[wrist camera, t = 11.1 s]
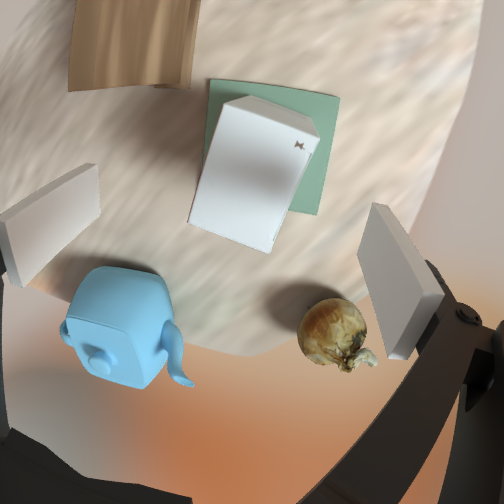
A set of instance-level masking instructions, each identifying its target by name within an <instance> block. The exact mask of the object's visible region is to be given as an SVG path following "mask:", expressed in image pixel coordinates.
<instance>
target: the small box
mask: <svg viewBox="0 0 504 504" xmlns="http://www.w3.org/2000/svg"><path fill="white" fill-rule="evenodd" d="M319 141H320V137H319V135H318V133H317V130H316V128H315V126H314V123H313V121H312V119H311V117H309V116H306V115H303V114H301V113H299V112H296V111H294V110H291V109H289V108H286V107H283V106H281V105H278V104H275V103H272V102H270V101H267V100H264V99H261V98H259V97H256V96H253V95H249V96H245V97H242V98H239V99H236V100H232V101H229V102H226V103H224V104H223V105H222V108H221V111H220V114H219V117H218V120H217V123H216V126H215V130H214V133H213V136H212V139H211V142H210V145H209V148H208V152H207V155H206V158H205V162H204V165H203V168H202V171H201V175H200V178H199V182H198V185H197V189H196V192H195V196H194V199H193V202H192V206H191V210H190V214H189V217H188V220H187V223H189V224H191V225H194V226H197V227H199V228H202V229H204V230H207V231H209V232H212V233H215V234H217V235H220V236H222V237H225V238H228V239H230V240H233V241H235V242H238V243H240V244H243V245H246V246H248V247H251V248H253V249H256V250H258V251H261V252H263V253H266V254H269V253H270V252H271V249H272V246H273V244H274V241H275V238H276V236H277V233H278V231H279V229H280V226H281V224H282V222H283V219H284V217H285V215H286V213H287V210H288V208H289V206H290V203H291V201H292V199H293V197H294V194H295V192H296V190H297V188H298V185H299V183H300V181H301V179H302V176H303V174H304V172H305V169H306V167H307V165H308V163H309V161H310V159H311V157H312V155H313V153H314V151H315V149H316V147H317V145H318V143H319Z"/></svg>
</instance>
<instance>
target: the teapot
mask: <svg viewBox="0 0 504 504" xmlns="http://www.w3.org/2000/svg"><path fill="white" fill-rule="evenodd" d="M68 332H69V335H68ZM60 335H61V338H62V339H63V341H64V342H65V343H66V344H68V345H69V346H73V347H74V349H75V351H76V353H77V355H78V357H79V358H80V360H81V362H82V364H83V365H84V367H85V368H86V370H87V371H88V372H89V373H90V374H93V375H95V376H98V377H101V378H103V379H106V380H109V381H112V382H115V383H119V384H122V385H126V386H130V387H134V388H138V389H144V388H145V387H146V386H147V385H148V384H149V383H150V382H151V381H152V380H153V379H154V377H155V376H156V375H157V374H158V373H159V372H160V370H161V369H162V367H163V366H164V364H165V363H166V361H167V359H168V363H167V369H168V373H169V375H170V376H171V377H172V379H173V380H175V381H176V382H178V383H180V384H182V385H185V386H189V387H194V383H192V381H191V380H189V379H188V378H187V377H186V376H185V374H184V373H183V371H182V366H181V362H182V356H183V346H184V345H183V337H182V335H181V332H180V330H179V329H178V328H177V326H176V325H175V324H174V313H173V307H172V303H171V299H170V295H169V291H168V288H167V285H166V283H165V281H164V280H163V279H162V278H161V277H160V276H158V275H155V274H151V273H147V272H142V271H137V270H132V269H126V268H119V267H111V266H101V267H98V268H95V269H93V270H92V271H90V272H89V273H88V274H87V276H86V277H85V278H84V279H83V281H82V282H81V284H80V285H79V287H78V289H77V291H76V293H75V295H74V297H73V299H72V302H71V304H70V307H69V309H68V312H67V315H66V320H64V321H63V323H62V324H61V326H60Z"/></svg>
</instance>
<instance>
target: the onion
mask: <svg viewBox="0 0 504 504" xmlns="http://www.w3.org/2000/svg"><path fill="white" fill-rule="evenodd" d="M308 308H309V307H308ZM309 309H310V308H309ZM366 334H367V328H366V323H365V321H364V319H363V316H362V314H361V312H360V311H359V309H358V308H357V307H356V306H355V305H354V304H353V303H352V302H350V301H348V300H344V299H339V298H330V299H326V300H322V301H320V302H318V303H317V304H316V305H314V306H313V307H312V308H311V309H310V310H309V311H308V312H307V313H306V314H305V315H304V317H303V318H302V320H301V322H300V324H299V327H298V330H297V337H298V343H299V346H300V348H301V350H302V352H303V353H304V355H305V356H306V357H307V358H308V359H310V360H311V361H313V362H314V363H316V364H319V365H328V364H333V363H336V364H338V368H340V371H344V372H347V373H350V372H351V370H352V368H353V367H354V368H355V369H356V370H357V367H358V365H359V364H360V362H361V361H363V362H365V363H367V364H368V365H369V366H370V367H372V366H373V365H374V366H376V365H377V363H378V358H377V357H376V356H375V355H374V354H373V353H372V351H371V350H369V349H368V348H363V349H360V347H361V346H362V344H363V343H364V340H365V337H366Z"/></svg>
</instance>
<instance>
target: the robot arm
mask: <svg viewBox="0 0 504 504" xmlns="http://www.w3.org/2000/svg"><path fill="white" fill-rule="evenodd" d="M100 215H101V209H100V196H99V181H98V164H89V163H85V164H83V165H81V166H80V167H78V168H76V169H74V170H72V171H70V172H68V173H67V174H65V175H63V176H61V177H60V178H58V179H56V180H54V181H53V182H51V183H49V184H47V185H46V186H44V187H42V188H41V189H39V190H37V191H36V192H34V193H33V194H31V195H29V196H28V197H26V198H25V199H23V200H21V201H20V202H18V203H17V204H15V205H14V206H12V207H11V208H9V209H8V210H6V211H5V212H3V213H2V214H0V504H193V502H192V498H190V497H186V496H181V495H177V494H173V493H169V492H165V491H161V490H158V489H154V488H151V487H147V486H144V485H140V484H132V483H122V482H114V481H105V480H99V479H92V478H87V477H84V476H82V475H81V474H79V473H78V472H77V471H75V470H74V469H73V468H71V467H70V466H69V465H68V464H66V463H65V462H64V461H63V460H62V459H60V458H59V457H58V456H57V455H55V454H54V453H53V452H52V451H51V450H50V449H48V448H47V447H46V446H44V445H43V444H41V443H39V442H37V441H35V440H33V439H31V438H29V437H28V436H26V435H24V434H22V433H21V432H19V431H17V430H15V429H14V428H11V429H10V427H9V424H8V419H7V412H6V404H5V394H4V383H3V370H2V333H1V332H2V304H3V288H4V283H3V279H2V275H3V273H5V272H6V271H7V274H8V277H9V280H10V283H11V284H12V285H15V286H18V287H21V288H24V287H25V286H26V285H27V284H28V283H29V281H30V280H31V279H32V278H33V277H34V276H35V275H36V274H37V273H38V272H39V271H40V270H41V269H42V268H43V267H44V266H45V265H46V264H47V263H48V262H49V261H50V260H51V259H53V258H54V257H55V256H56V255H57V254H58V253H59V252H60V251H61V250H62V249H63V248H64V247H65V246H66V245H67V244H68V243H69V242H71V241H72V240H73V239H74V238H75V237H76V236H77V235H78V234H79V233H80V232H82V231H83V230H84V229H85V228H86V227H87V226H88V225H89V224H91V223H92V222H93V221H94V220H95V219H96V218H98V217H99V216H100ZM357 256H358V259H359V262H360V265H361V268H362V271H363V274H364V278H365V281H366V284H367V287H368V290H369V293H370V297H371V300H372V303H373V306H374V310H375V313H376V316H377V320H378V323H379V327H380V331H381V334H382V338H383V342H384V345H385V349H386V353H387V357H388V358H389V359H403V360H408V358H409V357H410V355H411V354H412V352H413V350H414V349H415V347H416V349H417V352H418V354H419V357H418V359H417V360H416V361H415V363H414V365H413V366H412V367H411V369H410V370H409V372H408V373H407V375H406V376H405V377H404V379H403V381H402V382H401V384H400V385H399V387H398V388H397V389H396V391H395V392H394V394H393V395H392V396H391V398H390V399H389V401H388V402H387V403H386V405H385V406H384V407H383V409H382V410H381V411H380V413H379V414H378V415H377V416H376V418H375V419H374V420H373V422H372V423H371V424H370V425H369V427H368V428H367V429H366V430H365V431H364V433H363V434H362V435H361V437H359V439H358V440H357V441H356V442H355V443H354V445H353V446H352V447H351V448H350V449H349V450H348V451H347V453H346V454H345V455H344V456H343V457H342V458H341V459H340V460H339V461H338V463H337V464H336V465H335V466H334V467H333V468H332V469H331V470H330V471H329V472H328V473H327V474H326V475H325V476H324V477H323V478H322V479H321V480H320V482H318V483H317V484H316V485H315V486H314V487H313V488H312V489H311V490H310V491H309V492H308V493H307V494H306V495H305V496H304V497H303V498H302V499H301V500H300V501H299V502H298V503H296V504H398V503H399V502H400V500H401V499H402V497H403V496H404V494H405V493H406V491H407V490H408V488H409V487H410V485H411V483H412V482H413V480H414V479H415V477H416V475H417V474H418V472H419V471H420V469H421V467H422V466H423V464H424V462H425V460H426V458H427V457H428V455H429V453H430V451H431V449H432V448H433V446H434V444H435V442H436V440H437V438H438V436H439V434H440V432H441V430H442V428H443V426H444V424H445V422H446V420H447V418H448V416H449V414H450V411H451V409H452V407H453V405H454V403H455V400H456V398H457V396H458V393H459V391H460V395H459V404H458V411H457V418H456V425H455V431H454V436H453V442H452V447H451V452H450V457H449V461H448V466H447V470H446V475H445V478H444V482H443V486H442V490H441V493H440V497H439V501H438V504H504V320H503V321H501V323H500V324H499V326H498V327H497V329H496V330H492V329H490V328H487V327H485V326H482V320H481V318H480V316H479V315H478V313H477V312H476V311H475V310H474V309H472V308H471V307H470V306H468V305H466V304H464V303H459V302H457V301H456V299H455V298H454V296H453V294H452V292H451V291H450V289H449V288H448V286H447V285H446V283H445V281H444V280H443V278H441V275H440V273H439V271H438V270H437V268H436V267H434V265H432V264H431V263H430V262H429V261H428V260H424V259H423V257H422V256H421V254H420V252H419V251H418V249H417V248H416V246H415V245H414V243H413V242H412V240H411V239H410V237H409V236H408V234H407V233H406V231H405V230H404V228H403V227H402V225H401V224H400V222H399V221H398V219H397V218H396V217H395V215H394V214H393V212H392V211H391V210H390V208H389V207H388V206H387V205H383V204H378V203H374V202H373V203H372V206H371V210H370V213H369V217H368V220H367V223H366V227H365V230H364V233H363V237H362V240H361V243H360V246H359V249H358V252H357Z"/></svg>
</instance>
